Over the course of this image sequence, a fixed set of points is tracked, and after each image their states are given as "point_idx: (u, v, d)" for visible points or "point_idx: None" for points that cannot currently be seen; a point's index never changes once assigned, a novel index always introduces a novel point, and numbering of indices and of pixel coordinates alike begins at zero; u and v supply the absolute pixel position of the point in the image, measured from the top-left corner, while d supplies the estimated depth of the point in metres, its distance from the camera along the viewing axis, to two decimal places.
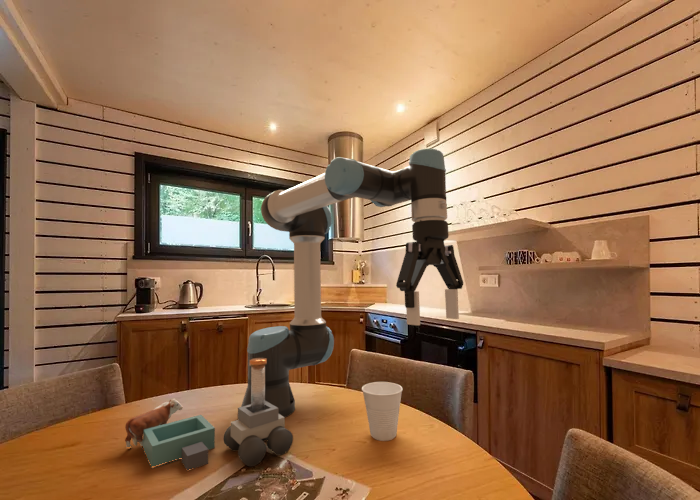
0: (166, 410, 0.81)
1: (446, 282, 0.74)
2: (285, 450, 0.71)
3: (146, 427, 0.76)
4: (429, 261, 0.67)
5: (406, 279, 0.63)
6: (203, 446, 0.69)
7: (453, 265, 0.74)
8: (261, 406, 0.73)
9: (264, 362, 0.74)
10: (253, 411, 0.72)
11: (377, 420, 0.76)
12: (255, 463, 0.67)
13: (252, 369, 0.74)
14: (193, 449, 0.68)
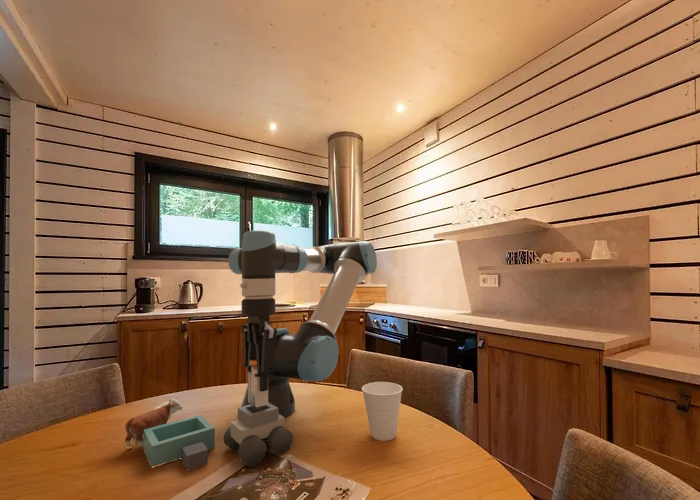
0: (166, 410, 0.81)
1: None
2: (285, 450, 0.71)
3: (146, 427, 0.76)
4: (248, 339, 0.75)
5: None
6: (203, 446, 0.69)
7: None
8: (261, 406, 0.73)
9: None
10: (253, 411, 0.72)
11: (377, 420, 0.76)
12: (255, 463, 0.67)
13: (252, 369, 0.74)
14: (193, 449, 0.68)
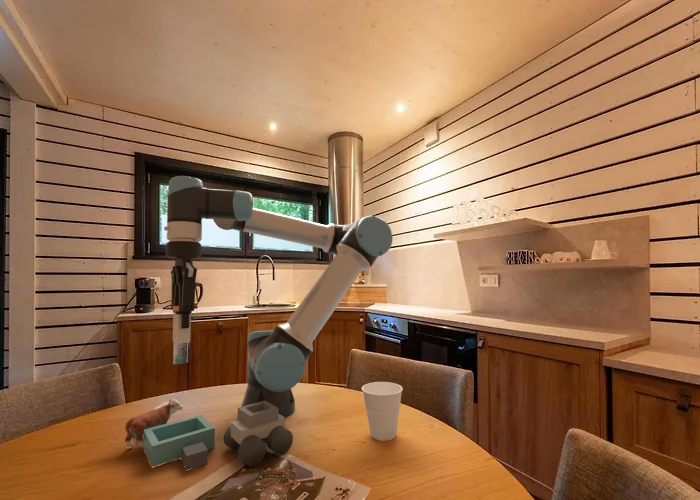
0: (166, 410, 0.81)
1: None
2: (285, 450, 0.71)
3: (146, 427, 0.76)
4: (173, 281, 0.78)
5: None
6: (203, 446, 0.69)
7: None
8: (183, 349, 0.76)
9: None
10: (174, 353, 0.75)
11: (377, 420, 0.76)
12: (255, 463, 0.67)
13: (175, 314, 0.76)
14: (193, 449, 0.68)
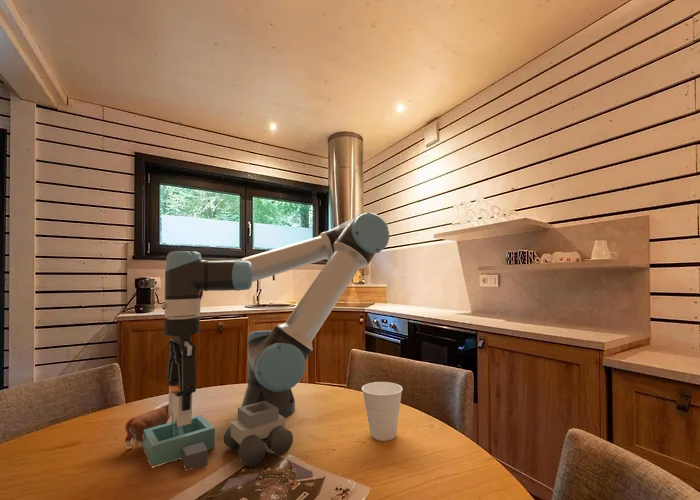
0: (166, 410, 0.81)
1: None
2: (285, 450, 0.71)
3: (146, 427, 0.76)
4: (170, 357, 0.77)
5: None
6: (203, 446, 0.69)
7: None
8: (181, 432, 0.74)
9: None
10: (172, 437, 0.73)
11: (377, 420, 0.76)
12: (255, 463, 0.67)
13: (172, 395, 0.74)
14: (193, 449, 0.68)
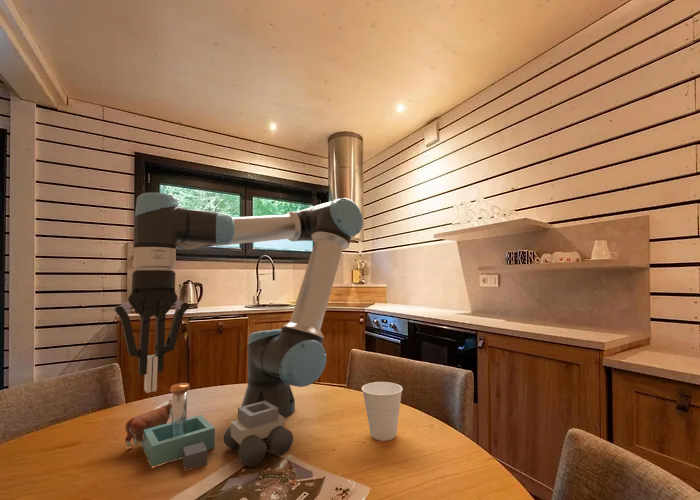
0: (166, 410, 0.81)
1: (155, 343, 0.66)
2: (285, 450, 0.71)
3: (146, 427, 0.76)
4: (148, 317, 0.64)
5: (128, 349, 0.62)
6: (203, 446, 0.69)
7: (174, 323, 0.67)
8: (181, 432, 0.74)
9: (185, 388, 0.75)
10: (172, 437, 0.73)
11: (377, 420, 0.76)
12: (255, 463, 0.67)
13: (173, 395, 0.75)
14: (193, 449, 0.68)
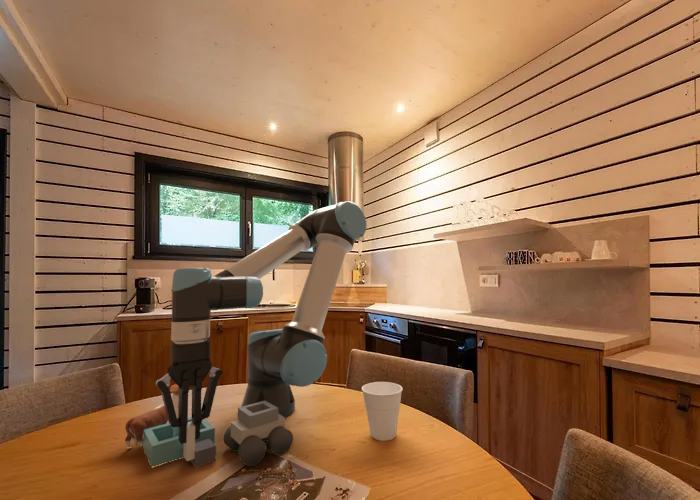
0: None
1: (192, 410, 0.70)
2: (285, 450, 0.71)
3: (146, 427, 0.76)
4: (186, 389, 0.67)
5: (170, 421, 0.65)
6: (211, 443, 0.71)
7: (209, 391, 0.71)
8: None
9: None
10: (172, 437, 0.73)
11: (377, 420, 0.76)
12: (255, 463, 0.67)
13: (172, 395, 0.75)
14: (201, 445, 0.69)
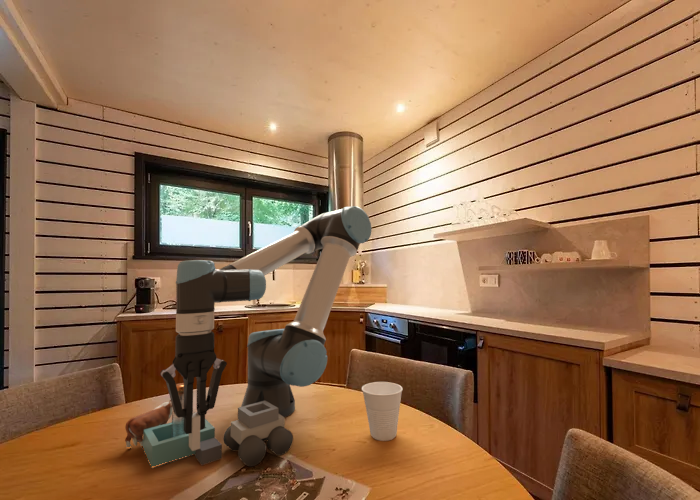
0: (166, 410, 0.81)
1: (197, 401, 0.70)
2: (285, 450, 0.71)
3: (146, 427, 0.76)
4: (191, 380, 0.68)
5: (175, 411, 0.66)
6: (216, 441, 0.71)
7: (214, 382, 0.71)
8: (181, 432, 0.74)
9: None
10: (172, 437, 0.73)
11: (377, 420, 0.76)
12: (255, 463, 0.67)
13: None
14: (207, 444, 0.70)
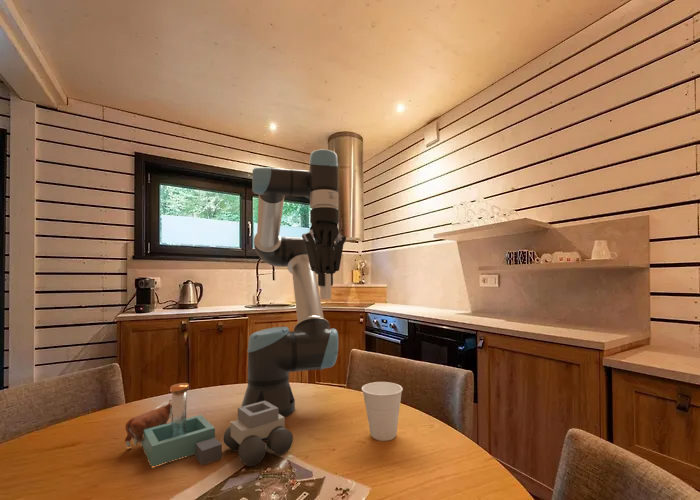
0: (166, 410, 0.81)
1: (325, 265, 0.87)
2: (285, 450, 0.71)
3: (146, 427, 0.76)
4: (325, 243, 0.84)
5: (315, 265, 0.82)
6: (216, 441, 0.71)
7: (338, 250, 0.88)
8: (181, 432, 0.74)
9: (184, 388, 0.75)
10: (172, 437, 0.73)
11: (377, 420, 0.76)
12: (255, 463, 0.67)
13: (172, 395, 0.75)
14: (207, 444, 0.70)
